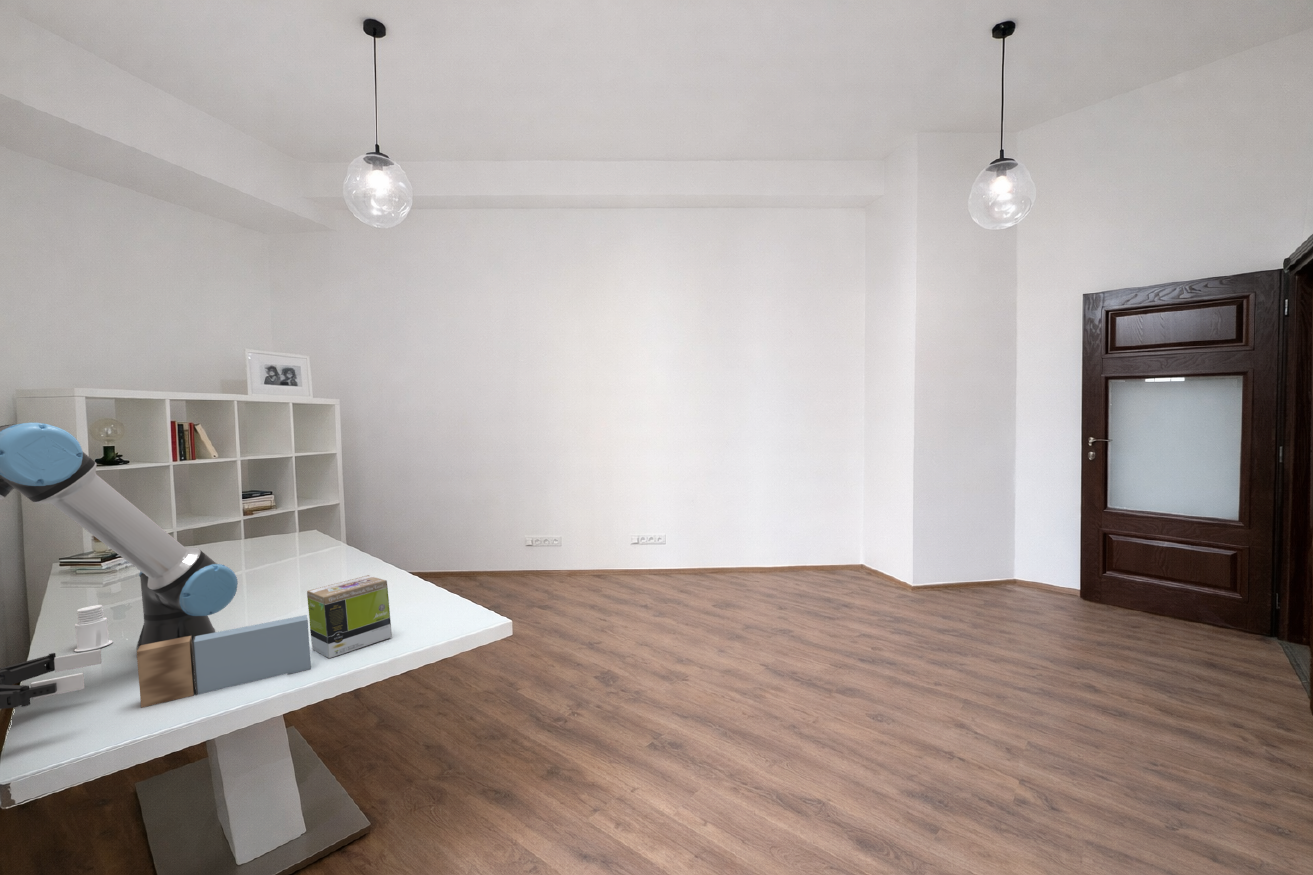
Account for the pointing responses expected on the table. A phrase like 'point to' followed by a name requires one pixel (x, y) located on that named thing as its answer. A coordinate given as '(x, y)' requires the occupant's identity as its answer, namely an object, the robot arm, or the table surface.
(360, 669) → the table surface
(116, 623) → the table surface
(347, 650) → the tea box
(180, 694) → the stub
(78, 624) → the downlight
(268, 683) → the table surface
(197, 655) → the blue-gray rectangular block
